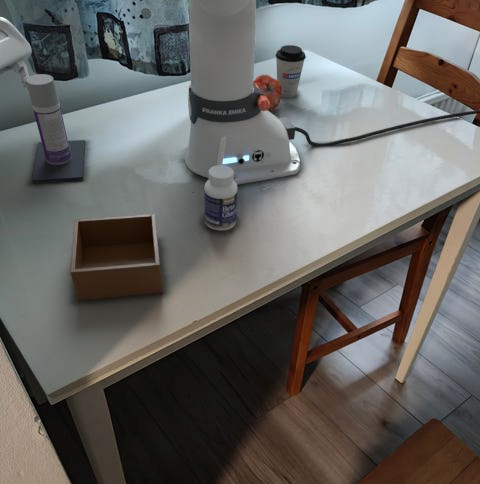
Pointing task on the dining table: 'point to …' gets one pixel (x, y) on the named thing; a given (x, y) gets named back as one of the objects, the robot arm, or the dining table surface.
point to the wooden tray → (115, 257)
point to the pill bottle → (220, 198)
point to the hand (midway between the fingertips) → (14, 97)
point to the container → (49, 118)
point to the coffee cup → (289, 69)
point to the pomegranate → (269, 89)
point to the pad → (60, 172)
